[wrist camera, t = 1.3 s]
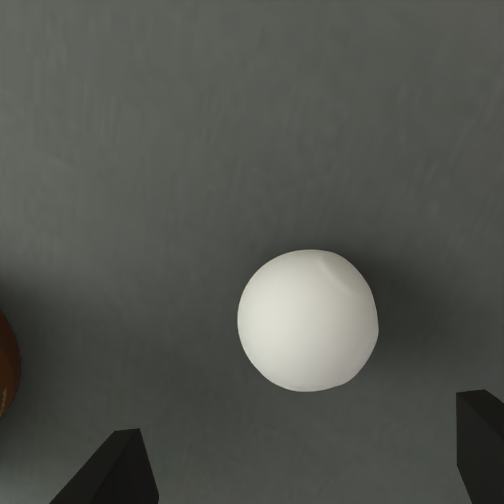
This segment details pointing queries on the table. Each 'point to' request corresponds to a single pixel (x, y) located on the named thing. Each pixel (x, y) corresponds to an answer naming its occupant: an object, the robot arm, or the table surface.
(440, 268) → the table surface
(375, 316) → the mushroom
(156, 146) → the table surface
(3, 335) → the food container
